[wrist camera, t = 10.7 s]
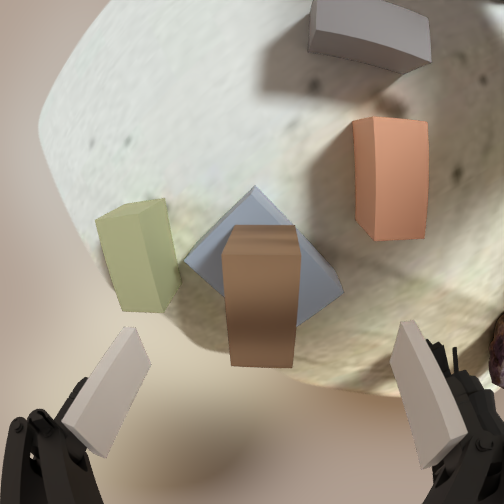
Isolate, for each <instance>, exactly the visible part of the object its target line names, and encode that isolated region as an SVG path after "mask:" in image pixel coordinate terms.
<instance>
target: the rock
mask: <svg viewBox="0 0 504 504" xmlns="http://www.w3.org/2000/svg"><path fill="white" fill-rule="evenodd" d="M489 352H490V358H489V359H490V361H489V372H490V376H491V379H492V383H493V384H495V385H497V386H499V387H501V388H503V389H504V314H503V315H502V316H501V317H500V318H499V319H498V321H497V323H496V326H495V331H494V339H493V341H492V342H491V344H490V346H489Z"/></svg>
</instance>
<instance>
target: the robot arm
mask: <svg viewBox="0 0 504 504" xmlns="http://www.w3.org/2000/svg"><path fill="white" fill-rule="evenodd" d="M503 1H504V0H503ZM390 365H391V368H392V371H393V374H394V377H395V379H396V382H397V385H398V388H399V391H400V395H401V398H402V401H403V404H404V407H405V410H406V414H407V417H408V421H409V424H410V428H411V431H412V435H413V439H414V443H415V446H416V450H417V454H418V458H419V463H420V467H421V470H422V469H425V468H428V467H431V466H434V465H437V464H438V463H439V462H440V461H441V460H442V459H443V461H444V465H443V466H442V467H441V468H440V469H438V470H437V472H436V473H435V475H437V474H438V473H439V472H440V473H439V475H438V477H437V479H436V480H435V482H434V484H433V486H432V488H431V490H430V491H429V493H428V495H427V497H426V499H425V500H424V502H423V503H422V504H504V435H493V434H492V433H490V432H489V431H484V430H483V429H482V427H481V425H480V422H479V420H478V418H477V415H476V413H475V411H474V408H473V406H472V404H471V402H470V401H469V398H468V395H467V394H466V391H465V389H464V387H463V385H462V383H461V382H460V381H459V380H458V379H457V378H456V377H454V376H452V377H448V378H445V377H444V375H443V373H442V371H441V369H440V367H439V365H438V363H437V361H436V359H435V357H434V355H433V353H432V351H431V350H430V348H429V346H428V344H427V342H426V340H425V338H424V336H423V335H422V333H421V331H420V329H419V327H418V326H417V324H416V322H415V320H410V321H403V322H400V326H399V330H398V334H397V338H396V341H395V345H394V348H393V352H392V355H391V358H390ZM150 367H151V362H150V360H149V358H148V356H147V353H146V351H145V349H144V347H143V344H142V342H141V339H140V337H139V335H138V332H137V330H136V328H134V327H123V329H122V330H121V332H120V333H119V334H118V336H117V337H116V339H115V340H114V341H113V343H112V344H111V346H110V347H109V349H108V350H107V351H106V353H105V354H104V356H103V357H102V359H101V360H100V362H99V363H98V365H97V366H96V368H95V369H94V371H93V372H92V374H91V375H90V377H89V378H87V377H84V378H83V379H82V380H81V381H80V382H78V383H77V385H76V386H75V388H74V389H73V392H71V394H70V396H69V398H67V400H66V402H65V403H64V405H63V406H62V408H61V409H60V411H59V413H58V414H57V416H56V417H55V419H54V420H53V419H52V418H51V417H50V416H49V414H48V413H47V412H46V411H45V410H43V409H36V410H34V411H32V412H31V413H30V414H29V416H28V418H27V420H26V419H24V418H23V417H17V418H16V419H14V420H13V421H12V422H11V424H10V427H9V433H8V438H7V443H6V448H5V455H4V461H3V469H2V480H1V493H0V504H104V503H103V501H102V498H101V495H100V493H99V490H98V487H97V484H96V481H95V478H94V475H93V471H92V468H91V465H90V461H89V457H88V455H87V453H86V452H85V451H86V449H87V448H88V449H89V450H90V451H91V452H92V453H93V454H96V455H98V456H101V457H103V458H107V455H108V453H109V451H110V449H111V446H112V444H113V442H114V440H115V438H116V436H117V434H118V432H119V429H120V427H121V425H122V423H123V421H124V419H125V417H126V415H127V413H128V411H129V409H130V407H131V405H132V402H133V400H134V398H135V396H136V394H137V392H138V390H139V388H140V386H141V384H142V382H143V380H144V378H145V376H146V374H147V372H148V370H149V368H150ZM30 452H31V453H32V454H33V455H34V457H33V459H31V458H30Z"/></svg>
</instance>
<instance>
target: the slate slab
mask: <svg viewBox="0 0 504 504" xmlns="http://www.w3.org/2000/svg"><path fill="white" fill-rule="evenodd" d="M235 225H293V224H292V223H291V222H290V221H289V220H288V219H287V217H286V216H285V215H284V214H283V213H282V212H281V211H280V210H279V209H278V208H277V207H276V206H275V205H274V204H273V203H272V202H271V201H270V200H269V199H268V198H267V197H266V196H265V195H264V194H263V193H262V192H261V191H260V190H259V189H258V188H257V187H256V186H254V187H253V188H252V189H251V190H250V191H249V192H248V193H247V194H245V195H244V196H243V197H242V198H241V199H240V200H239V201H238V202H237V203H236V204H235V205H234V206H233V207H232V208H231V209H230V210H229V211H228V212H227V213H226V214H225V215H224V216H223V217H222V218H221V219H220V220H219V221H218V222H217V223H216V224H215V225H214V226H213V227H212V228H211V229H210V230H209V231H208V232H207V233H206V234H205V235H204V236H203V237H202V238H201V239H200V240H199V241H198V242H197V243H196V244H195V245H194V247H193V248H192V250H191V251H190V252H189V254H188V255H187V257H186V258H185V259H184V262H186V263H187V264H188V265H189V266H190V267H191V268H192V269H193V270H194V271H195V272H196V273H197V274H199V275H200V276H201V277H202V278H203V279H204V280H205V281H206V282H207V283H209V284H210V285H211V286H212V287H213V288H214V289H215V290H216V291H218V292H219V293H220V294H221V295H222V296H223V297H224V298H225V296H224V283H223V271H222V257H221V254H222V252H223V250H224V247H225V245H226V243H227V241H228V239H229V237H230V234H231V232H232V230H233V228H234V226H235ZM295 228H296V227H295ZM296 232H297V237H298V242H299V246H300V251H301V271H300V286H299V300H298V313H297V325H296V327H297V326H299V325H300V324H302V323H303V322H305V321H306V320H307V319H309V318H310V317H312V316H313V315H315V314H316V313H317V312H319V311H320V310H322V309H323V308H324V307H326V306H327V305H328V304H330V303H331V302H332V301H334V300H335V299H336V298H338V297H339V296H340V295H342V294H343V293H344V291H343V288H342V286H341V283H340V281H339V278H338V276H337V273H336V271H335V270H334V269H333V268H332V266H331V265H330V264H329V263H328V262H327V261H326V260H325V259H324V257H323V256H322V255H321V254H320V253H319V252H318V251H317V250H316V249H315V248H314V246H313V245H312V244H311V243H310V242H309V241H308V240H307V239H306V238H305V237H304V236H303V235H302V233H301V232H300V231H299V230H298V229H297V228H296Z"/></svg>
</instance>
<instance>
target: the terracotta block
mask: <svg viewBox="0 0 504 504" xmlns="http://www.w3.org/2000/svg"><path fill="white" fill-rule="evenodd" d="M352 124H353V138H354V156H355V220H356V221H357V222H358V224H359V225H360V226H361V227H362V228H363V229H364V230H365V231H366V232H367V234H368V235H369V236H370V237H371V238H372V239H373V240H374V241H387V240H406V239H424V237H425V228H426V218H427V205H428V185H429V142H428V123H427V122H425V121H417V120H408V119H399V118H387V117H368V118H364V119H359V120H355V121H352Z"/></svg>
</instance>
